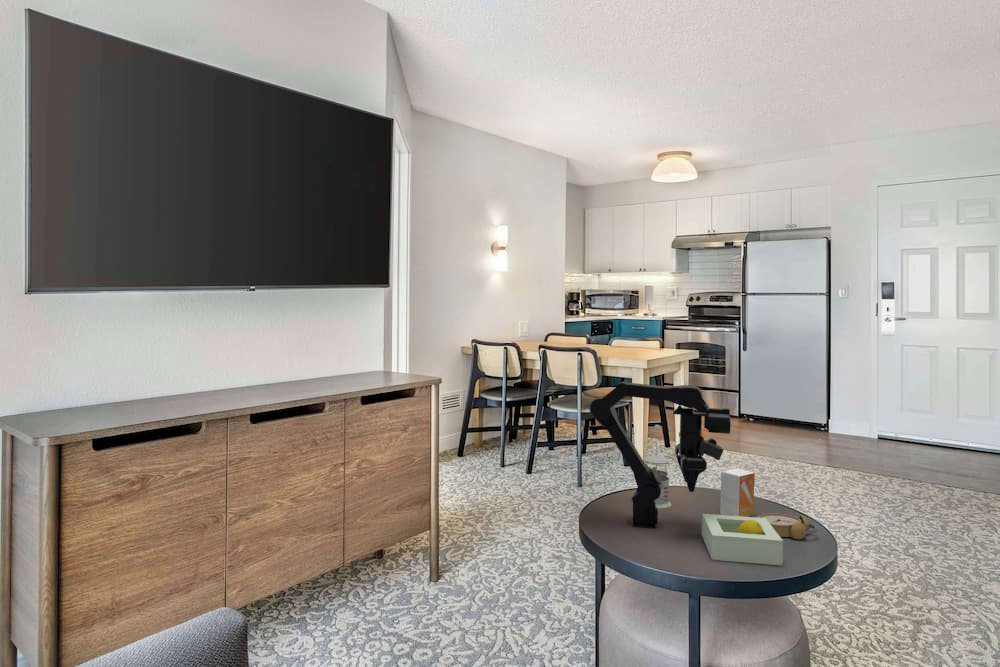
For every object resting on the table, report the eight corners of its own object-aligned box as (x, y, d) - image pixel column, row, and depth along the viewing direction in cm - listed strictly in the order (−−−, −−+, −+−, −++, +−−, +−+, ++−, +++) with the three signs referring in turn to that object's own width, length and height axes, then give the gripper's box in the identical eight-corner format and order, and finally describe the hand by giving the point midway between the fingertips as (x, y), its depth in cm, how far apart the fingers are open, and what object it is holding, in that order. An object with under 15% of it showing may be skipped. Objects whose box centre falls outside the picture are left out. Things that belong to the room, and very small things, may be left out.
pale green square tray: (711, 559, 142) (712, 535, 142) (701, 535, 158) (702, 513, 157) (782, 565, 139) (783, 540, 139) (764, 540, 155) (765, 518, 154)
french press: (676, 508, 180) (677, 427, 180) (638, 508, 180) (640, 427, 179) (666, 498, 190) (667, 422, 189) (631, 498, 190) (632, 421, 189)
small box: (738, 520, 170) (739, 476, 170) (719, 514, 175) (720, 471, 175) (754, 515, 175) (755, 472, 174) (734, 509, 180) (735, 467, 179)
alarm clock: (761, 511, 170) (818, 513, 161) (764, 528, 170) (821, 531, 160) (750, 521, 161) (810, 524, 152) (753, 539, 161) (813, 543, 152)
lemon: (751, 556, 145) (770, 536, 141) (731, 545, 146) (749, 526, 142) (749, 539, 150) (767, 520, 146) (729, 529, 151) (747, 510, 146)
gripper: (727, 439, 151) (726, 499, 151) (715, 426, 169) (714, 479, 169) (683, 437, 153) (681, 496, 153) (675, 424, 171) (674, 477, 171)
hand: (689, 486), depth 162 cm, fingers open, 9 cm apart
